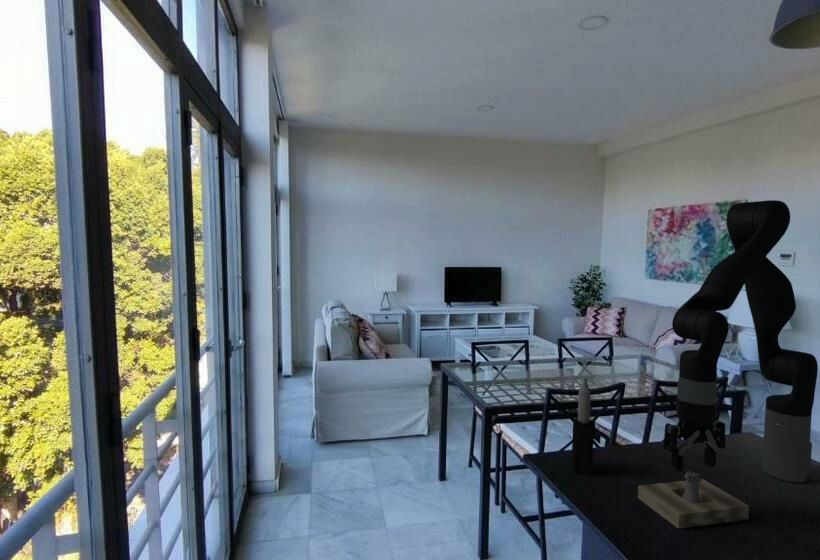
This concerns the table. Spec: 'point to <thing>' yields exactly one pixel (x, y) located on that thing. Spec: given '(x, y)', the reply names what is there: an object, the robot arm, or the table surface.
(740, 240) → the robot arm
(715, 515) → the socket board
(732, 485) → the table surface
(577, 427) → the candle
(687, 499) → the rook chess piece
